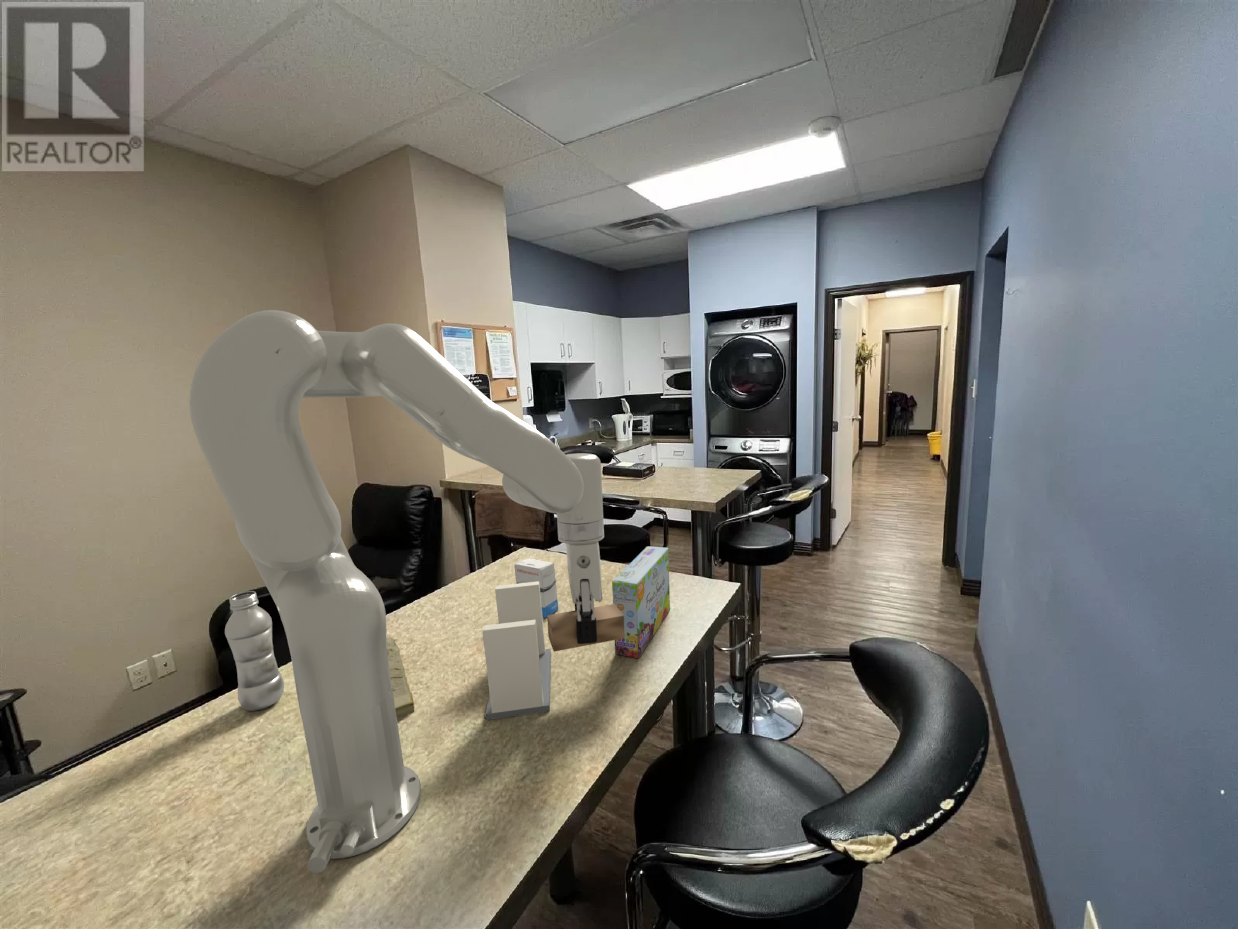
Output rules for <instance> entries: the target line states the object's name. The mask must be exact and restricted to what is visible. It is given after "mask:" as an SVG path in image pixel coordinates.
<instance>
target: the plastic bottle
mask: <svg viewBox="0 0 1238 929" xmlns="http://www.w3.org/2000/svg"><path fill="white" fill-rule="evenodd" d="M228 600H229V604H230V605H229V609H230V611H231V612H232V613H231V615H230V617H229V618H228V621H227V622H226V624H225V628H224V635H225V638H226V640H227V643H228V645H229V648H230V649H231V652H232V655H233V660H234V661H235V663H234V664H235V666H236V673H237V683H238V685H237V700H238V702H239V705H240V707H241V708H242V709H244V710H245V711H249V712H256V711H260V710H263V709H266V708H268V707H271V706H272V705H274V704H276V703H277V702H278V701H280V699H281V698H282V696H283V694H284V691H285V682H284V679H283V676H282V673H281V672H280V671H279V667H278V663H277V659H276V657H275V653H274V644H273V621H272V617H271V616H270V614H269V613H268V612H267V611H266V610H265V609H264V608H262V607H260V606H258V604H259V603H260V602H259V599H258V595H257V592H256V591H254V590H248V591H243V592H239V593H237V594H234V595H232V596H230V597H229V599H228Z"/></svg>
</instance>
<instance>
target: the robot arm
mask: <svg viewBox="0 0 1238 929" xmlns="http://www.w3.org/2000/svg"><path fill="white" fill-rule="evenodd" d="M196 365H197V366H196V368H195V370H194V373H193V377H192V380H191V384H190V390H189V412H190V419H191V424H192V427H193V430H194V431H193V432H194V434H195V437H196V439H197V441H198V442H197V443H198V444H199V446H200V448H201V451H202V453H203V455H204V457H205V459H206V462H207V464H208V466H209V467H210V468H209V469H210V470H211V472H212V475H213V476H214V479H215V482H216V484H217V486H218V488H219V490H220V492H221V495H222V496H223V499H224V501H225V502H226V504H227V506H228V508H229V510H230V512H231V514H232V516H233V518H234V524H235V529H236V531H237V534H238V538H239V540H240V542H241V544H242V545H243V547H244V549H245V550H246V551H247V552H248V554H249V555H250V557H251V560H252V562H253V563H254V566H255V568H256V569H257V571H258V572H259V575H260V576H261V579H262V581H263V583H264V585H265V586H266V588H267V590H268V593H269V594H270V596H271V598H272V600H273V602H274V603H275V606H276V609H277V611H278V614H279V616H280V620H281V622H282V625H283V628H284V632H285V636H286V639H287V644H288V648H289V653H290V656H291V657H290V659H291V665H292V671H293V678H294V683H295V690H296V696H297V701H298V706H299V712H300V717H301V720H302V726H303V731H304V737H305V741H306V747H307V753H308V758H309V764H310V765H309V766H310V770H311V774H312V780H313V785H314V791H315V796H316V802H317V805H316V806H315V808H314V810H313V811H312V812H311V814H310V816H309V818H308V821H307V825H306V830H305V831H306V832H305V833H306V838H307V844H308V846H309V848H310V850H311V851H312V854H311V855H310V858H309V860H308V861H307V863H306V868H307V870H308V871H309V872H311V873H313V874H319V873H322V872H323V871H324V870H325V869H326V868H327V867H328V863H329V862H330V860H331V859H332V860H333V859H344V858H350V857H354V856H356V855H357V856H358V855H360V854H363V853H366V852H368V851H370V850H372V849H374V848H376V847H378V846H379V845H381V844H383V843H384V842H386V841H387V840H390V838H391V837H393V836H394V835H395V834H396V833H397V832H399V831H400V830H401V829H402V828H403V826H404V825H406V824H407V823H408V821H409V820H410V819H411V817H412V816H413V814H415V811H416V810H417V808H418V805H419V803H420V800H421V795H422V794H421V793H422V788H421V781H420V779H419V775H418V774H417V773H416V771H415V770H414V769H411V768H410V767H408V766H405V763H404V757H403V751H402V745H401V738H400V737H401V736H400V732H399V726H398V725H399V723H398V718H397V717H396V710H395V703H394V696H393V689H392V683H391V678H390V671H389V664H388V656H387V643H386V638H387V613H386V608H385V603H384V601H383V598H382V596H381V594H380V592H379V590H378V588H376V585H375V584H374V583H373V581H372V580H371V579H370V578H369V577H367V575H365V574H364V572H363V571H362V570H360V569H359V568H357V566H356V565H355V564H354V562H353V559H352V558H351V556H350V553H349V551H348V549H347V547H346V544H345V543H344V540H343V538H342V536H341V534H342V519H341V514H340V512H339V509H338V507H337V505H336V503H335V502H334V500H333V498H332V497H331V495H330V493H329V491H328V490H327V487H326V485H325V483H324V481H323V479H322V476H321V475H320V472H319V470H318V468H317V465H316V464H315V461H314V459H313V456H312V454H311V451H310V449H309V445H308V443H307V440H306V438H305V435H304V433H303V431H302V427H301V423H300V414H299V412H300V406H301V405H300V404H301V401H302V399H309V398H310V399H311V398H314V399H318V398H320V399H321V398H322V399H325V398H326V399H327V398H329V399H331V398H334V399H335V398H336V399H337V398H343V399H345V398H365V397H366V398H367V397H383V398H384V399H385V400H387V401H388V402H389V403H391V404H392V405H393V406H394V407H396V408H397V409H398V410H399V411H402V412H403V413H404V414H405V415H406V416H407V417H409V418H411V420H413V421H414V422H415V423H416V424H418V425H419V426H421V427H422V428H423V429H424V430H426V432H427V433H429V434H430V435H431V436H432V437H434V438H435V439H436V440H437V441H439V442H440V443H441V444H443V445H444V446H445V447H447V448H448V449H450V450H452V451H454V452H456V453H457V454H459V455H462V456H464V457H466V458H469V459H471V460H474V461H476V462H479V463H481V464H484V465H486V466H488V467H490V468H492V469H494V470H496V471H498V472H499V473H501V474H502V480H501V481H502V482H501V484H502V488H503V491H504V493H505V495H506V496H507V497H508V498H509V499H510V500H512V501H513V502H515V503H517V504H519V505H522V506H525V507H526V506H527V507H530V508H533V509H538V510H541V511H544V512H548V513H552V514H556V518H557V523H556V524H557V537H558V538H557V539H558V541H559V542H560V543H563V544H565V547H566V549H565V550H566V564H567V572H568V573H567V575H568V582H569V588H570V593H571V599H572V603H573V604H574V611H575V610H577V616H578V619H576V628H577V643H578V644H586V643H595V642H597V628H596V618H595V613H594V607H595V604H594V603H595V602H598V603H601V602H602V601H603V600H604V599H603V589H602V587H603V585H602V572H601V555H600V545H599V542H600V541H602V540H603V539H604V538H605V528H604V526H605V524H604V523H605V522H604V506H603V482H602V480H603V478H602V462H601V459H600V457H598V456H597V455H596V454H592V453H584V452H581V453H579V452H577V453H567V454H565V453H564V452H563V451H562V449H560V448H559V447H558V446H557V445H556V444H555V443H554V442H553V441H551V440H550V439H549V438H548V437H546V436H545V435H544V434H543V433H541V432H540V431H539V430H537V429H536V428H534V427H533V426H531V425H529V424H528V423H526V422H525V421H524V420H522V419H520V418H519V417H517V416H515V414H513V413H511V412H509V411H508V410H506V409H505V408H504V407H502V406H500V405H499V404H497V403H496V402H494V401H492V400H491V399H490V398H488V397H487V396H486V395H485V394H484V393H483V392H482V391H480V390H479V388H477V386H475V385H474V384H473V383H472V382H471V381H470V380H469V379H467V378H466V377H465V375H463V374H462V373H461V372H460V371H458V369H457V368H456V367H455V366H453V365H452V364H451V363H450V362H449V361H448V360H447V359H446V358H445V357H444V356H443V355H442V354H440V353H439V351H438V350H436V349H435V348H434V347H433V346H432V345H431V344H430V343H429V342H428V341H426V340H425V339H424V338H423V337H422V336H421V335H419V334H418V333H417V332H416V331H414V330H413V329H411V328H410V327H408V326H406V325H403V324H400V323H392V322H391V323H390V322H389V323H388V322H387V323H383V324H379V325H375V326H372V327H370V328H368V329H365V330H364V331H334V330H317V329H316V328H315V327H314V326H313V324H311V323H310V322H308V321H307V320H306V319H304V318H303V317H300V316H299V315H297V314H294V313H291V312H288V311H285V310H277V309H268V310H266V309H265V310H260V311H257V312H256V311H255V312H253V313H249V314H248V315H245V316H244V317H242V318H240V319H238V320H237V321H235V322H234V323H232V324H231V325H230V326H228V327H227V328H226V329H224V331H223V332H221V333H220V334H219V335H218V336H217V337H216V338H215V339H214V340H213V341H212V343H211V344H209V345H208V347H207V349H206V350H205V351H204V353H203V354H202V356H201V357H200V359H199V362H198V364H196ZM580 610H581V611H580Z"/></svg>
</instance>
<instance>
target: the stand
mask: <svg viewBox="0 0 1238 929" xmlns="http://www.w3.org/2000/svg"><path fill="white" fill-rule="evenodd" d="M494 592H495V600H496V611H497V619H498V623H495V624H486V625H483V627H482V639H483V648H484V658H485V666H486V672H487V683H488V691H489V696H488V700H487V705H486V709H485V720H486V721H489V720H496V719H500V718H501V719H502V718H503V719H504V718H509V717H517V716H522V715H523V716H524V715H531V714H538V713H544V712H545V713H546V712H551V678H552V677H551V673H552V672H551V670H552V667H551V666H552V650H551V648H546V642H545V640H546V639H545V631H544V630H545V629H544V620H543V617H542V607H541V596H540V586H539V581H537V582H528V583H518V584H516V583H511V584H504V585H503V584H500V585H495V591H494Z"/></svg>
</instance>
